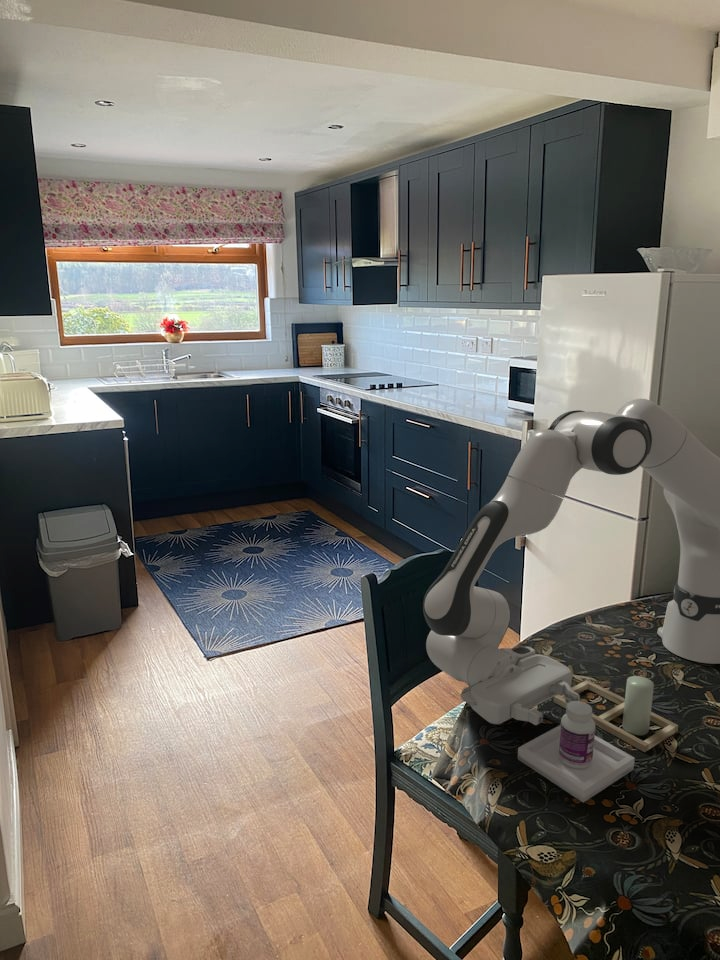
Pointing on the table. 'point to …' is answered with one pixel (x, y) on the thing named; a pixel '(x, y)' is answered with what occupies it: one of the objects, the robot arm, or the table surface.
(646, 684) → the sage vial
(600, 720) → the light wood flat frame
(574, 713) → the pill bottle
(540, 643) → the table surface
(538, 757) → the grey tray
